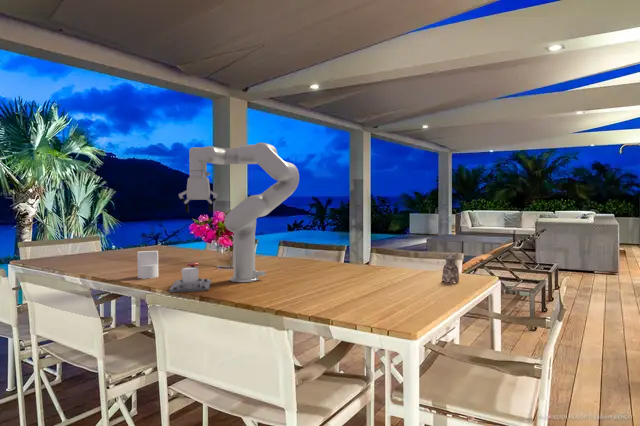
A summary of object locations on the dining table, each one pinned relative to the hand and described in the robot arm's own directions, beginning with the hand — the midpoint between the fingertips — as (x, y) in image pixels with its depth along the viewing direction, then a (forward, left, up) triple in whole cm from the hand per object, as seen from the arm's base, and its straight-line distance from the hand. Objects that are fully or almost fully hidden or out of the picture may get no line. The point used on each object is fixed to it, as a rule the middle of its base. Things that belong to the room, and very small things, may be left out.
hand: (198, 212), depth 204 cm
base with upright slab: (+24, -8, -30) cm, 39 cm away
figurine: (-108, +31, -30) cm, 117 cm away
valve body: (+2, +19, -30) cm, 36 cm away
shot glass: (+2, +21, -29) cm, 36 cm away
